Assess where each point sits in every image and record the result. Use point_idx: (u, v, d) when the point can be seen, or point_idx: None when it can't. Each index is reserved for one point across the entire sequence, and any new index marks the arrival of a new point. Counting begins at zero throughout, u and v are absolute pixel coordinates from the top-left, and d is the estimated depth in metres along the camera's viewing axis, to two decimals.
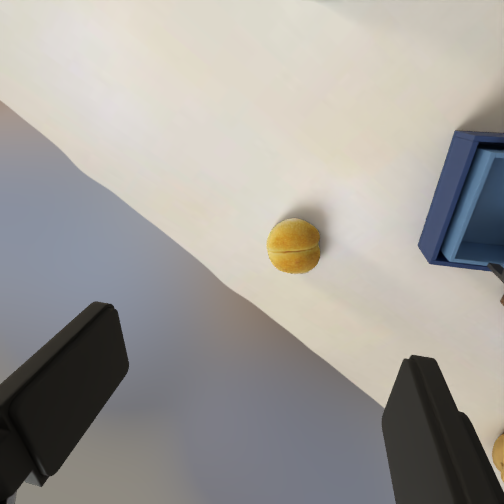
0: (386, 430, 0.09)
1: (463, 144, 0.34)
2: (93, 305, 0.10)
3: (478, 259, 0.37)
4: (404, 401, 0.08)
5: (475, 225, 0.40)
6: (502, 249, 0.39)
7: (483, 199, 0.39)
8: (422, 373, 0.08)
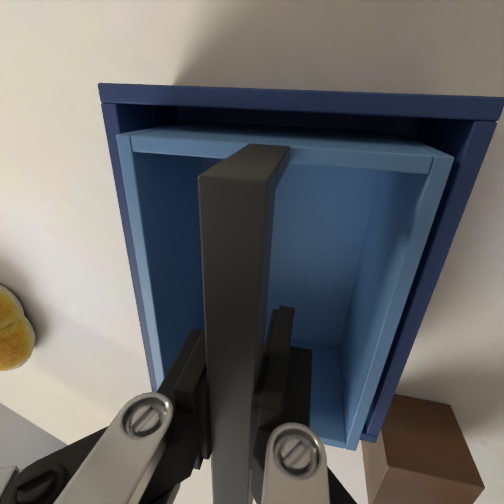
0: None
1: None
2: None
3: None
4: None
5: (268, 302, 0.18)
6: (319, 361, 0.18)
7: None
8: (278, 317, 0.09)
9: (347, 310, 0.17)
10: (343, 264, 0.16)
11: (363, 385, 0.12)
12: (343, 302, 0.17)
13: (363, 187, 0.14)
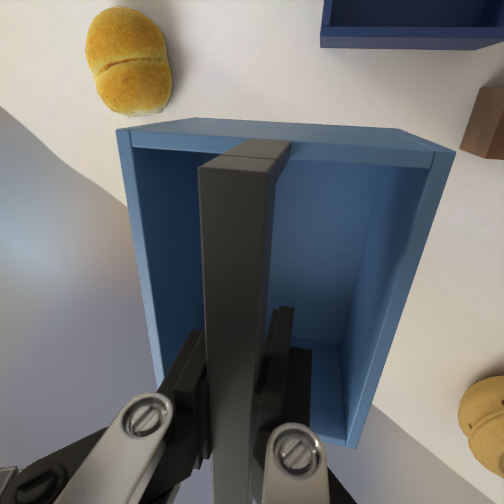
0: None
1: None
2: None
3: None
4: None
5: (268, 300, 0.18)
6: (320, 359, 0.18)
7: None
8: (278, 317, 0.09)
9: (347, 308, 0.17)
10: (343, 262, 0.16)
11: (364, 382, 0.12)
12: (343, 300, 0.17)
13: (364, 184, 0.14)
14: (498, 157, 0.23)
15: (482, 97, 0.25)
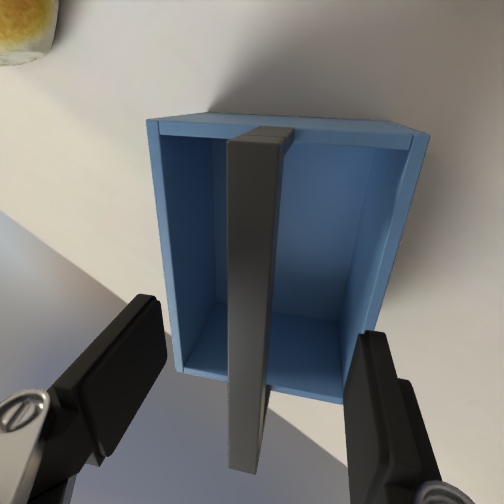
0: (345, 401, 0.10)
1: None
2: (139, 297, 0.10)
3: None
4: (356, 371, 0.09)
5: None
6: (320, 333, 0.19)
7: None
8: (371, 344, 0.08)
9: (345, 286, 0.19)
10: (341, 243, 0.18)
11: None
12: (341, 279, 0.19)
13: (358, 171, 0.16)
14: None
15: None
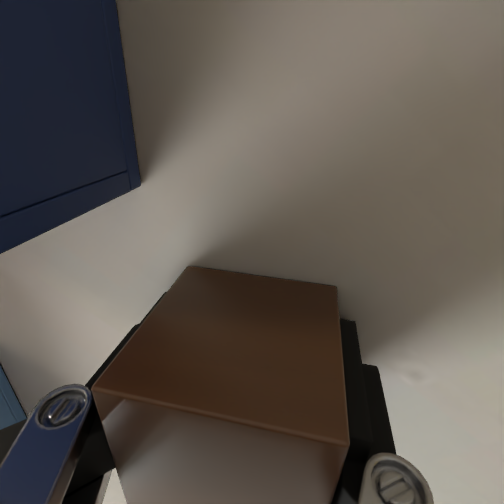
0: None
1: None
2: None
3: None
4: None
5: None
6: None
7: None
8: None
9: None
10: None
11: None
12: None
13: None
14: None
15: None
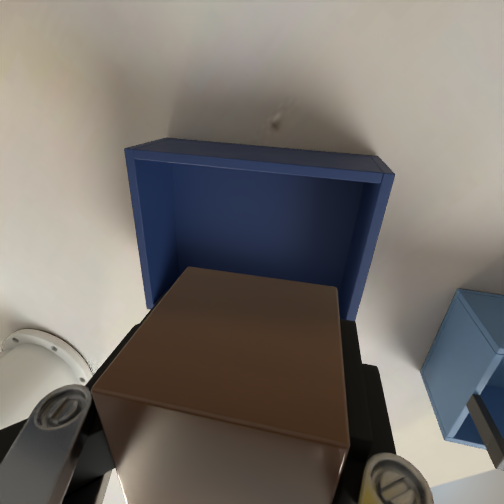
0: None
1: None
2: None
3: None
4: None
5: None
6: None
7: None
8: None
9: None
10: None
11: None
12: None
13: None
14: None
15: None
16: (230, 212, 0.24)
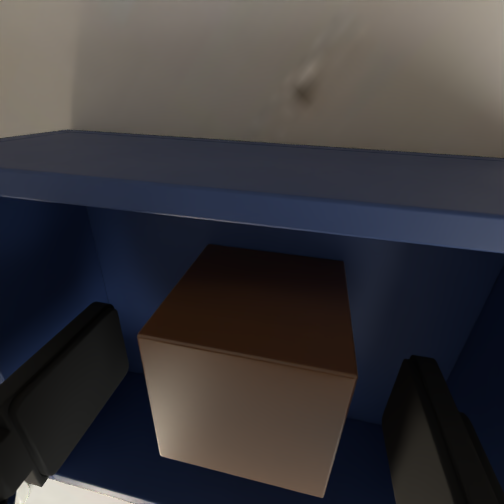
0: (386, 431, 0.09)
1: None
2: (93, 305, 0.10)
3: None
4: (404, 401, 0.08)
5: None
6: None
7: None
8: (422, 373, 0.08)
9: None
10: None
11: None
12: None
13: None
14: (186, 461, 0.09)
15: None
16: None
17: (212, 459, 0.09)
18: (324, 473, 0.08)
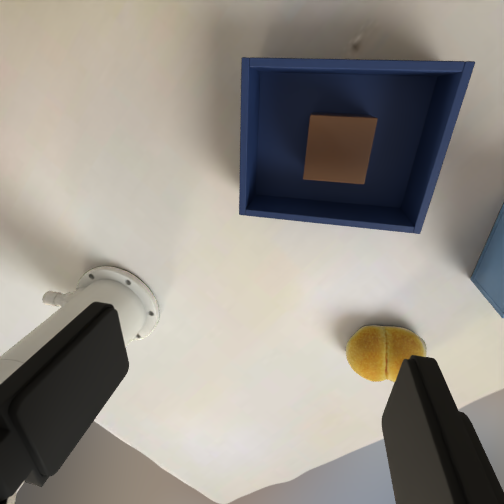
0: (386, 430, 0.09)
1: None
2: (93, 305, 0.10)
3: None
4: (404, 401, 0.08)
5: None
6: None
7: None
8: (422, 373, 0.08)
9: None
10: None
11: None
12: None
13: None
14: (314, 178, 0.25)
15: None
16: None
17: (325, 173, 0.25)
18: (365, 167, 0.24)
